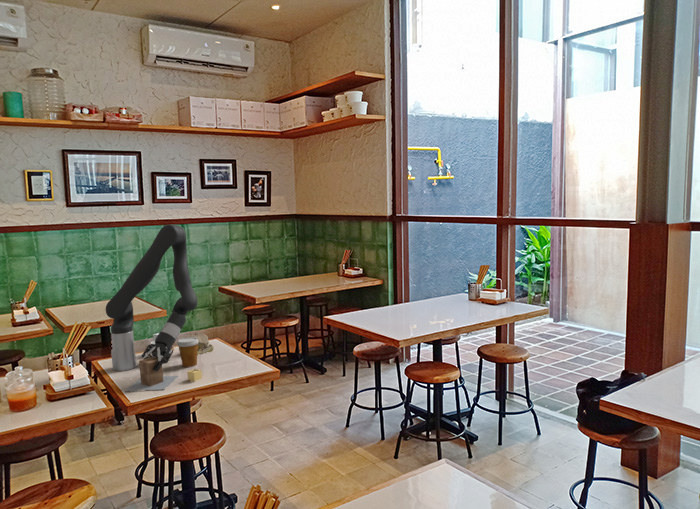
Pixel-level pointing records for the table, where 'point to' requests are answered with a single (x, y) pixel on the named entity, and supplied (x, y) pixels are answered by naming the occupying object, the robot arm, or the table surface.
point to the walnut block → (150, 372)
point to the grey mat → (160, 386)
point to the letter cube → (194, 374)
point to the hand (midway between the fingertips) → (148, 369)
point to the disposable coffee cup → (188, 351)
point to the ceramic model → (203, 343)
